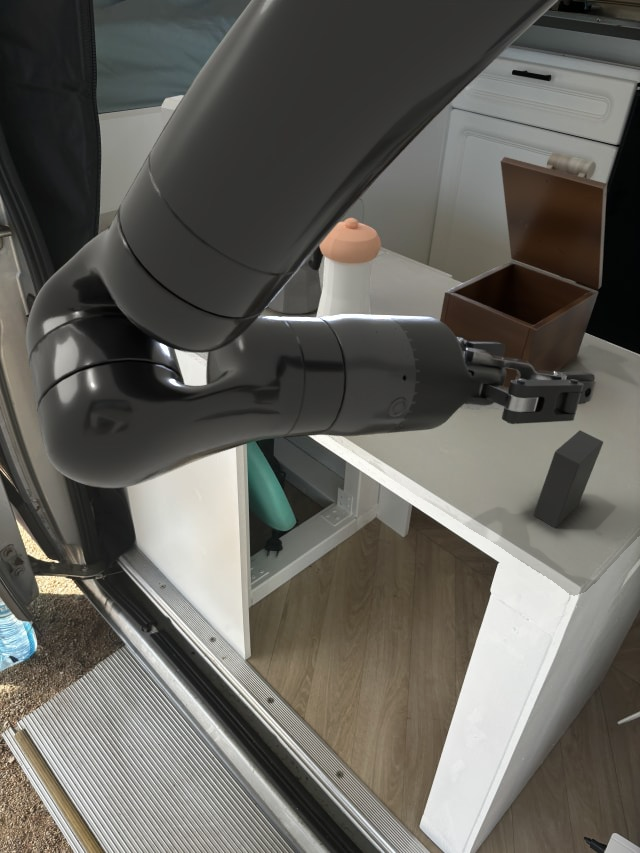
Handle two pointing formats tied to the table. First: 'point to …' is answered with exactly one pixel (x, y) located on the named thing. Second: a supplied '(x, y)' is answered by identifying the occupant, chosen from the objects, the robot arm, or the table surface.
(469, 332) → the chest
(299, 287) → the coffeepot
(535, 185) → the lid
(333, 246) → the pepper shaker
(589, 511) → the table surface
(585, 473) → the tall charcoal box
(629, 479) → the table surface
